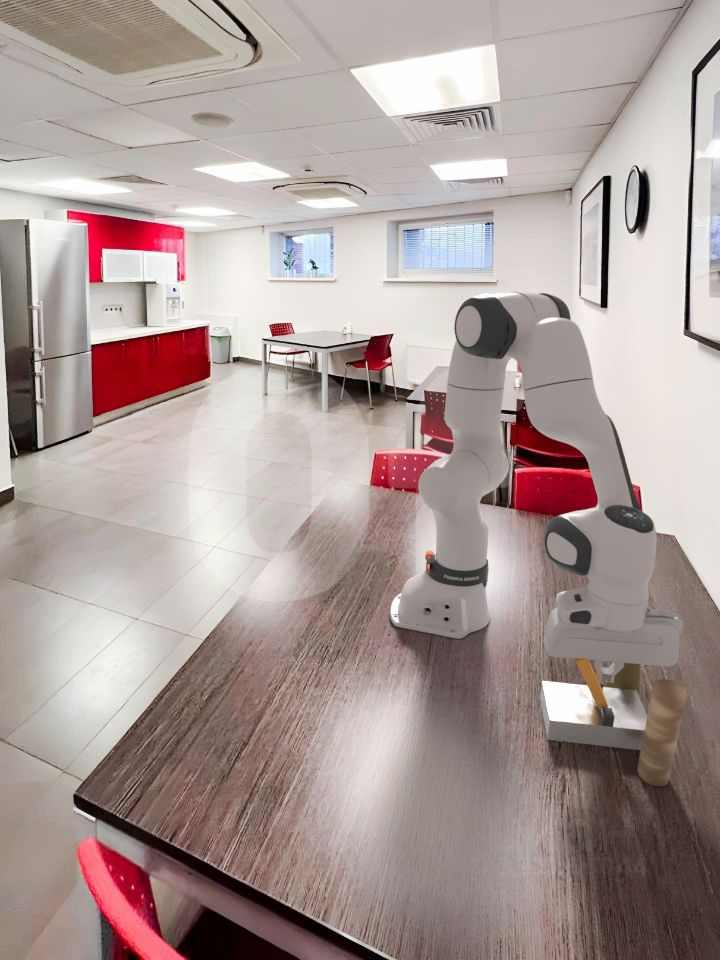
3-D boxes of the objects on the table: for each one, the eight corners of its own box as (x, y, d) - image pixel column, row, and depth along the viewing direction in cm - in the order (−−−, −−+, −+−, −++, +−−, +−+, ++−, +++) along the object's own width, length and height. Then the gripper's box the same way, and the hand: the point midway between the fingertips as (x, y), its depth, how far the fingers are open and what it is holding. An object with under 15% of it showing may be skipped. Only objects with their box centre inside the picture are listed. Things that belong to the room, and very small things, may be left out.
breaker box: (547, 739, 97) (551, 710, 95) (540, 699, 106) (543, 671, 104) (650, 751, 94) (655, 721, 92) (633, 708, 104) (638, 680, 102)
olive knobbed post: (598, 683, 110) (605, 633, 107) (628, 681, 111) (637, 631, 107) (613, 705, 105) (622, 653, 101) (646, 703, 105) (655, 651, 101)
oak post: (641, 784, 88) (658, 697, 83) (633, 762, 92) (649, 677, 87) (672, 788, 88) (691, 700, 82) (663, 765, 92) (680, 680, 86)
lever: (600, 714, 97) (576, 662, 95) (595, 696, 101) (571, 646, 99) (610, 711, 96) (586, 659, 94) (604, 694, 101) (581, 643, 98)
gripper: (678, 601, 94) (664, 673, 99) (546, 592, 97) (539, 662, 102) (693, 623, 88) (677, 698, 93) (552, 612, 91) (544, 686, 96)
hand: (604, 679), depth 97 cm, fingers closed
